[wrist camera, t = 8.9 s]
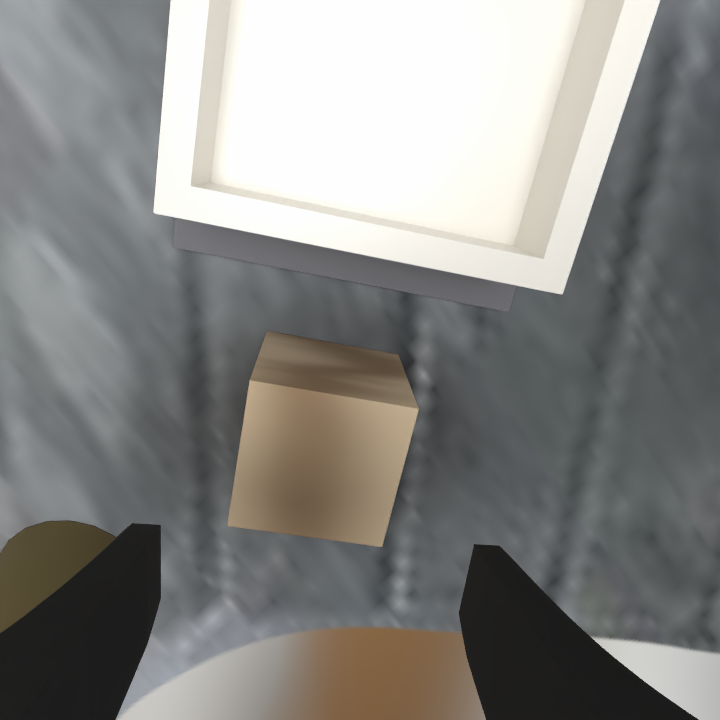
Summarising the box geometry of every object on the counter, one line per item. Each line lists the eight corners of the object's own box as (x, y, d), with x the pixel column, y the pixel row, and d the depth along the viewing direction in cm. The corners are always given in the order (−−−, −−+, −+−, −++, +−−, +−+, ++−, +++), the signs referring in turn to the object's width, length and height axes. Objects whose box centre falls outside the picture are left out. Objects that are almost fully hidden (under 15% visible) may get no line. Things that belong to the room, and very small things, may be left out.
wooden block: (398, 353, 21) (419, 408, 16) (370, 467, 23) (381, 547, 18) (267, 330, 20) (249, 380, 16) (248, 448, 22) (227, 525, 17)
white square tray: (613, -102, 16) (728, -207, 11) (506, 263, 19) (562, 294, 15) (240, -212, 14) (201, -381, 10) (197, 199, 18) (153, 212, 13)
